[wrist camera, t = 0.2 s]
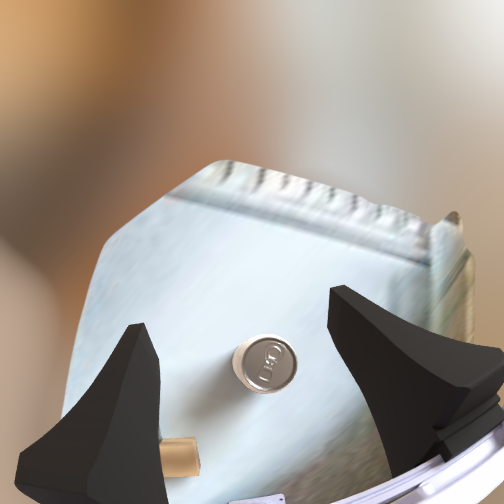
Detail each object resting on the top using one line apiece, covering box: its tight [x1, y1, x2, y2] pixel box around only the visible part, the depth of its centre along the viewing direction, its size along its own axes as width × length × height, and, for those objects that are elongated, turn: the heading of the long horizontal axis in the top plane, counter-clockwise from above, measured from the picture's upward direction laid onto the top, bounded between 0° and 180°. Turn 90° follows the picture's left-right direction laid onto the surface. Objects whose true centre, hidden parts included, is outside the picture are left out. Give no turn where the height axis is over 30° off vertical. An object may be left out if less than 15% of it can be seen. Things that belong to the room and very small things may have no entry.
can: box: [232, 334, 297, 394], centre depth 34 cm, size 6×6×12 cm
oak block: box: [159, 437, 201, 477], centre depth 33 cm, size 4×4×4 cm
